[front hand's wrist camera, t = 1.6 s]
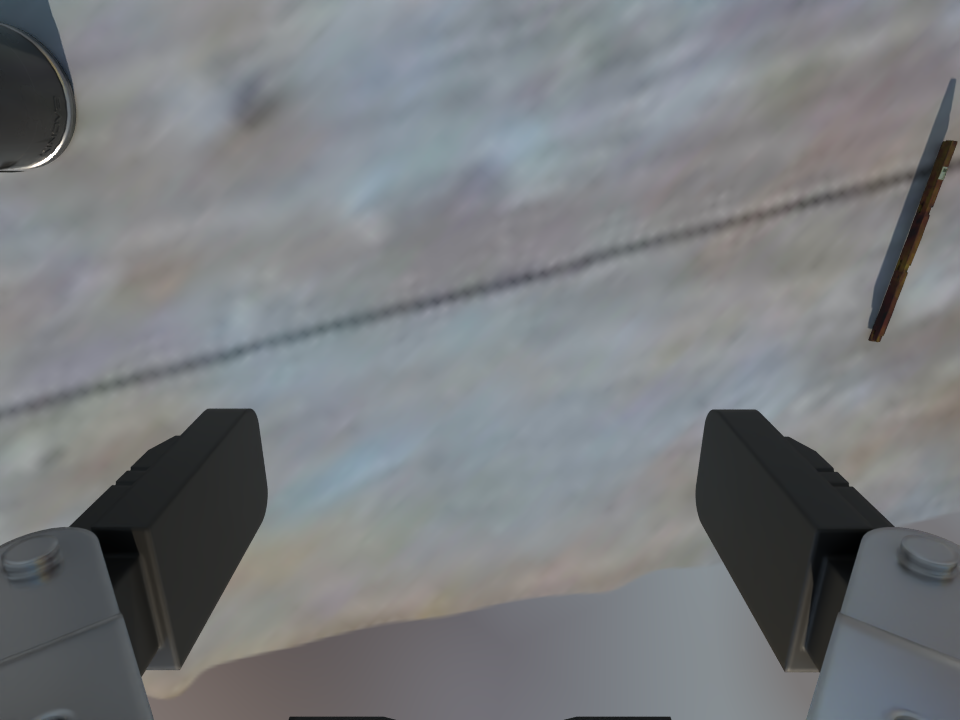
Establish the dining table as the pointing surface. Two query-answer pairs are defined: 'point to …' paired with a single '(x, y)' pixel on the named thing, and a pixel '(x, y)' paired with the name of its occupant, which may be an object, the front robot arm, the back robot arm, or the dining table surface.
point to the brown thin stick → (913, 239)
